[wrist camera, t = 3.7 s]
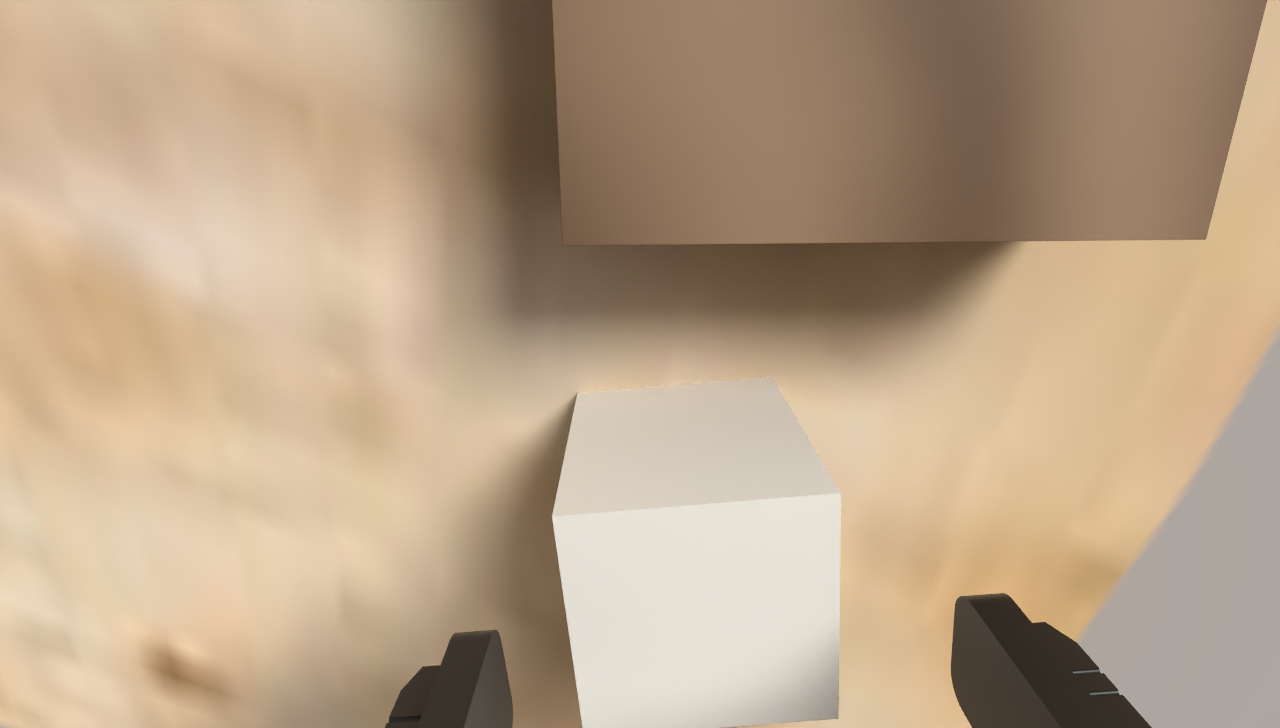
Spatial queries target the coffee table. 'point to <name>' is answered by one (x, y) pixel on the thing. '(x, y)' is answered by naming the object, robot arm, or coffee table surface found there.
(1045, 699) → the robot arm
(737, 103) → the walnut block
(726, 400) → the cream block
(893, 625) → the coffee table surface
